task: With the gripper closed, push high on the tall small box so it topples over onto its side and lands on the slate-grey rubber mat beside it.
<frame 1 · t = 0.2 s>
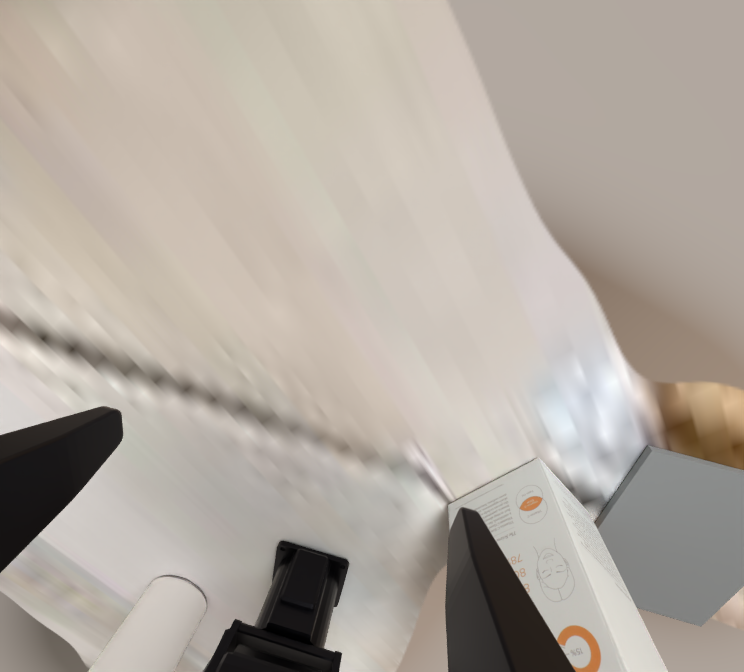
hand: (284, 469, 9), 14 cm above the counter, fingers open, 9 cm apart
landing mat: (674, 541, 25), on the counter
small box: (515, 505, 27), on the counter
can: (181, 591, 38), on the counter
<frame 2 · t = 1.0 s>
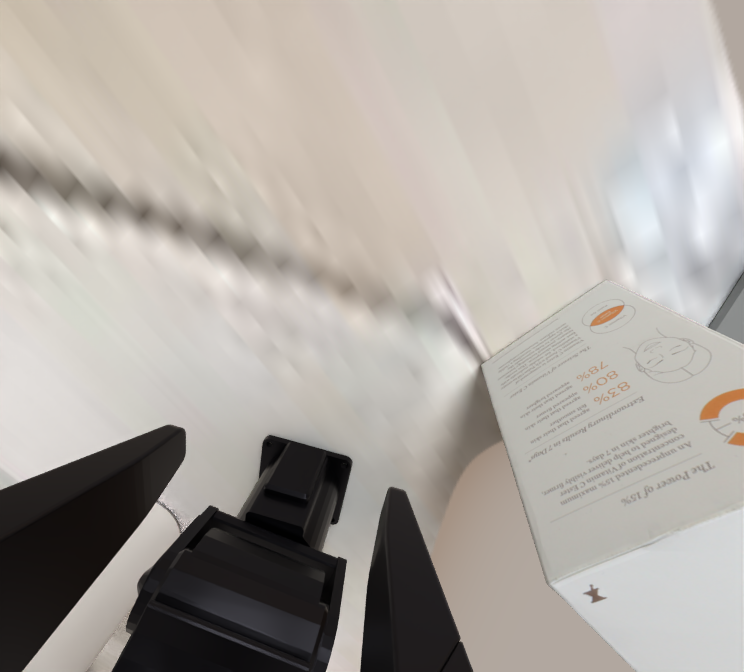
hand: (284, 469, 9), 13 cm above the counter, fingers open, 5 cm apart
small box: (569, 361, 20), on the counter
can: (150, 518, 32), on the counter
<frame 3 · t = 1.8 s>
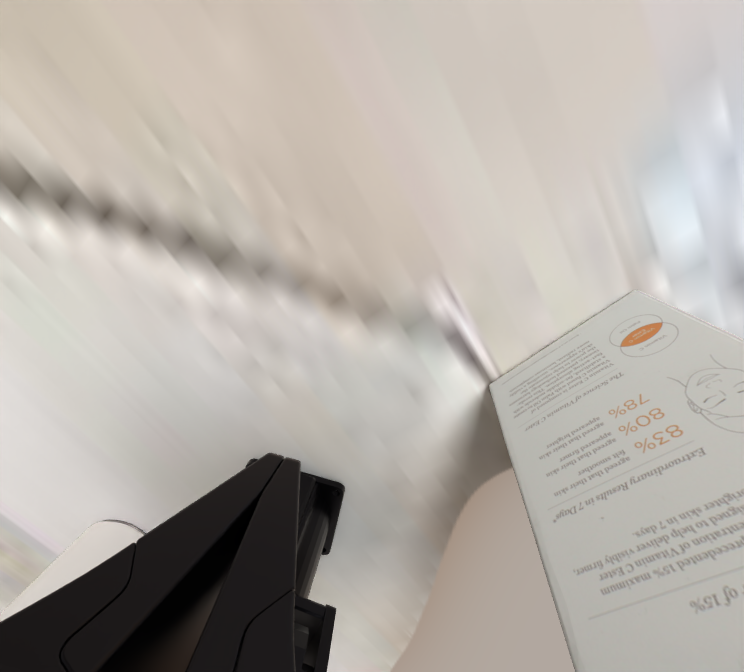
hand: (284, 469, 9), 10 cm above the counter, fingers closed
small box: (590, 381, 18), on the counter
can: (128, 543, 29), on the counter
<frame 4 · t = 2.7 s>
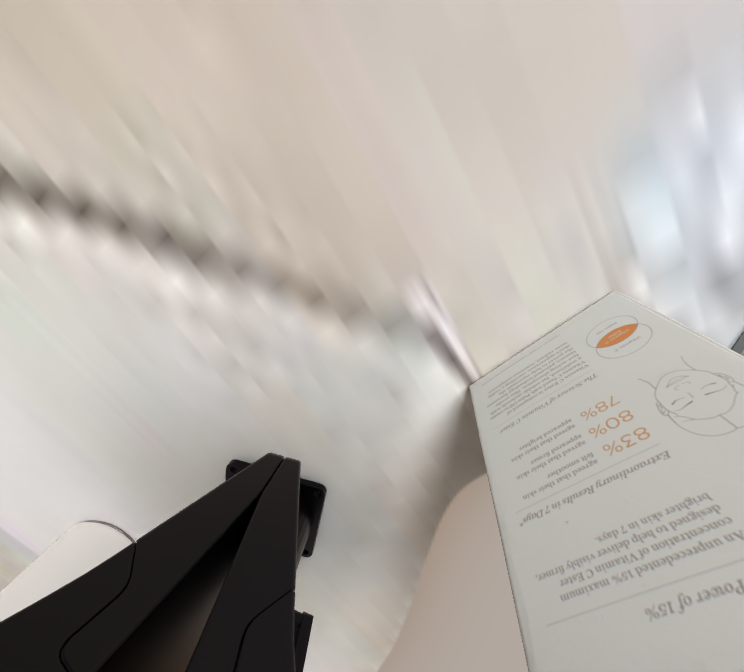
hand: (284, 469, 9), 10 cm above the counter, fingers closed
small box: (570, 383, 18), on the counter
can: (110, 544, 29), on the counter
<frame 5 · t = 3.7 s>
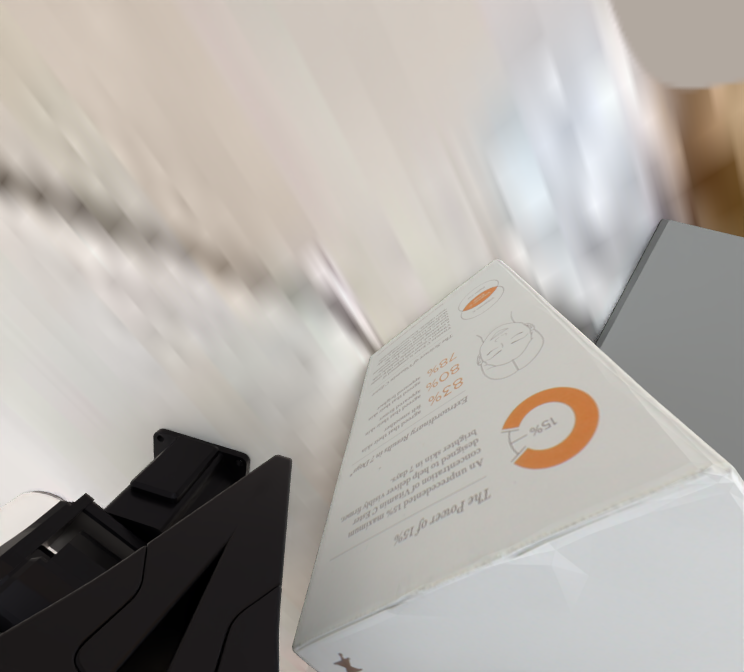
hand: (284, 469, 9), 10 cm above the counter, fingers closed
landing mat: (699, 396, 17), on the counter
small box: (467, 352, 18), on the counter, touching gripper
can: (57, 516, 30), on the counter
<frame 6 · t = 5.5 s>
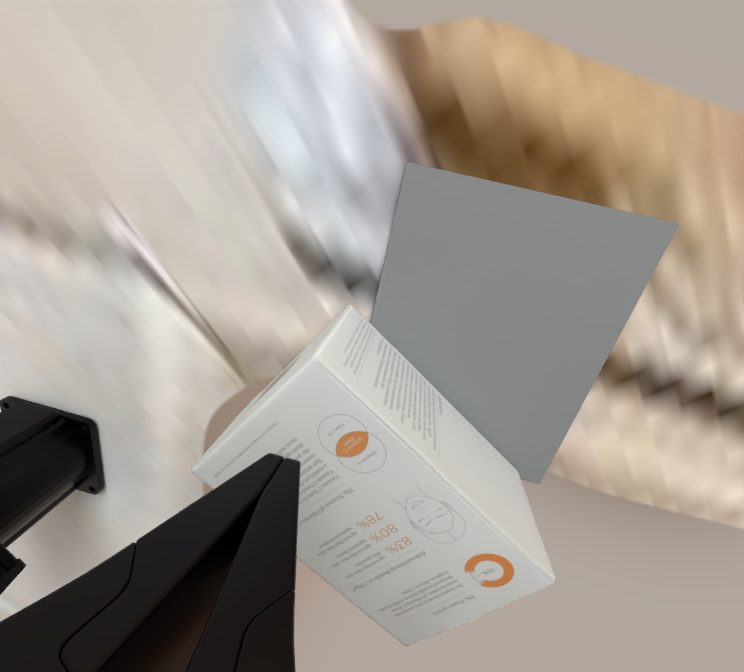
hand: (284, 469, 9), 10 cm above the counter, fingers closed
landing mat: (481, 342, 17), on the counter
small box: (273, 375, 16), point 4 cm above the counter, touching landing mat
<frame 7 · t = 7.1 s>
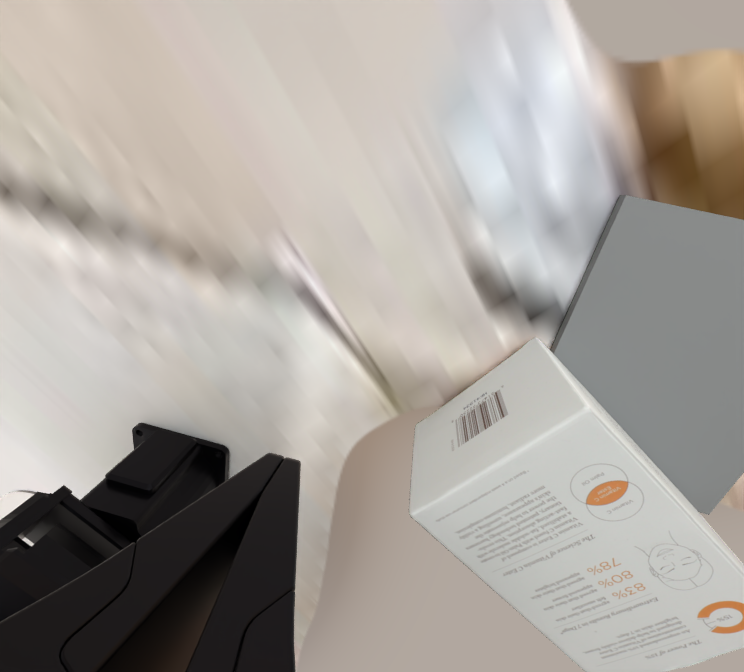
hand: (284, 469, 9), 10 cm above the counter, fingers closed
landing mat: (667, 373, 17), on the counter
small box: (473, 412, 15), point 4 cm above the counter, touching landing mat
can: (43, 515, 30), on the counter
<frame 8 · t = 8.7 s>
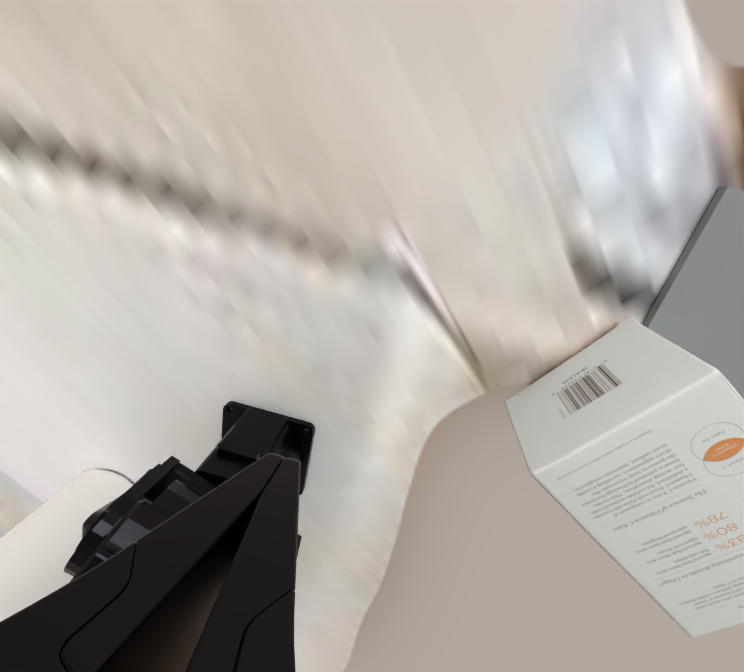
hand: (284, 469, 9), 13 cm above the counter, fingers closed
small box: (580, 384, 17), point 4 cm above the counter, touching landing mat
can: (116, 493, 31), on the counter
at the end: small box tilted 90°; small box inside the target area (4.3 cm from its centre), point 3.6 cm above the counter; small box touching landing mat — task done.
